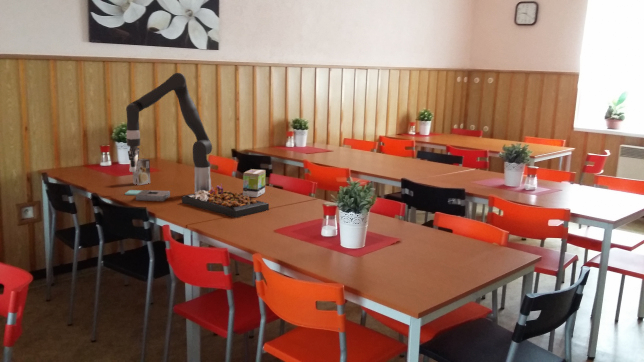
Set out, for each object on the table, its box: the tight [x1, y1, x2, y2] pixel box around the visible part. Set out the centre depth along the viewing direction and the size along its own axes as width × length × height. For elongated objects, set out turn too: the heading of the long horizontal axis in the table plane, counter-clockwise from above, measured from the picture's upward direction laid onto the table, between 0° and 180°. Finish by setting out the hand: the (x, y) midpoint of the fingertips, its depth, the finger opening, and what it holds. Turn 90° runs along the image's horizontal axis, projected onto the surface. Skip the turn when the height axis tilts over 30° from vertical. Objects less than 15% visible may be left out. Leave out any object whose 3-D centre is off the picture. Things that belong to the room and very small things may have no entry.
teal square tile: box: [124, 189, 143, 196], centre depth 345 cm, size 9×9×1 cm
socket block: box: [135, 189, 171, 202], centre depth 335 cm, size 16×14×3 cm
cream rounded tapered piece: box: [129, 155, 139, 173], centre depth 342 cm, size 4×4×10 cm
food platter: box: [181, 184, 270, 219], centre depth 321 cm, size 45×25×10 cm, turn 51°
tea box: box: [242, 168, 267, 198], centre depth 353 cm, size 15×10×15 cm, turn 168°
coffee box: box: [132, 158, 151, 186], centre depth 372 cm, size 9×6×16 cm
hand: (134, 166), depth 342 cm, fingers closed on cream rounded tapered piece, 4 cm apart
